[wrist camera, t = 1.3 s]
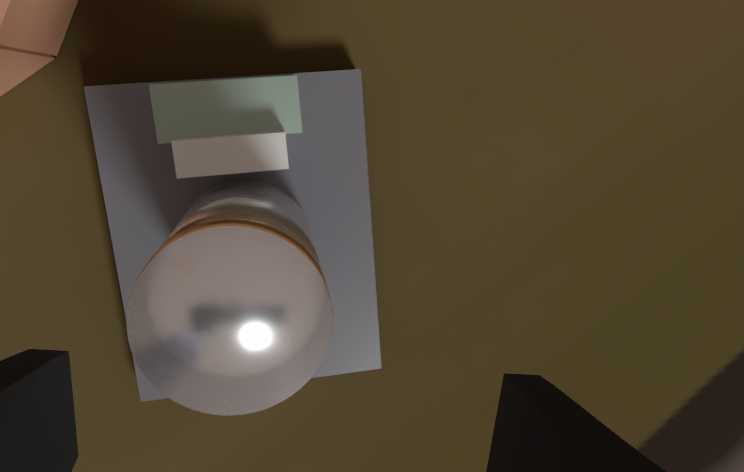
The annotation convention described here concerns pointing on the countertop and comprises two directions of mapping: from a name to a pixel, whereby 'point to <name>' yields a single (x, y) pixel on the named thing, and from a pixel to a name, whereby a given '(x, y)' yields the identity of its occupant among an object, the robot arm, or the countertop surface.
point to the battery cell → (232, 303)
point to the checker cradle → (245, 160)
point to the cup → (30, 36)
